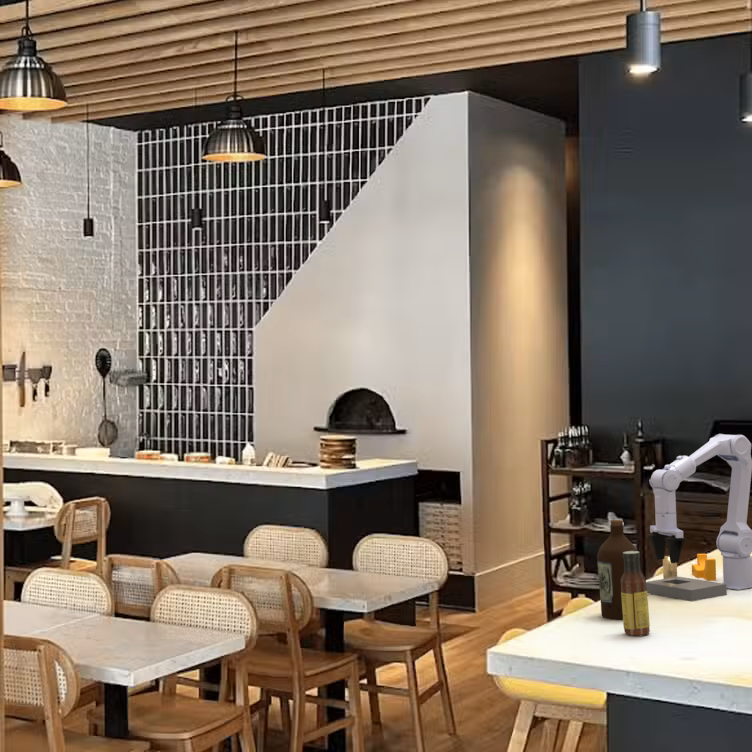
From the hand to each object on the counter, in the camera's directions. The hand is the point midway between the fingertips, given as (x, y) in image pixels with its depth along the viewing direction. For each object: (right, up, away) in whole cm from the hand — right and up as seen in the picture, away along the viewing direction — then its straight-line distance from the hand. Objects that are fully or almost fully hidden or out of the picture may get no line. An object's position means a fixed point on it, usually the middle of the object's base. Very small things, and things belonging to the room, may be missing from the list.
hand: (667, 561), depth 350 cm
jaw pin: (+5, -10, +19) cm, 22 cm away
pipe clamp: (+18, -10, +28) cm, 35 cm away
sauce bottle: (-19, -11, -48) cm, 53 cm away
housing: (+6, -10, +3) cm, 11 cm away
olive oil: (-19, -11, -26) cm, 34 cm away
